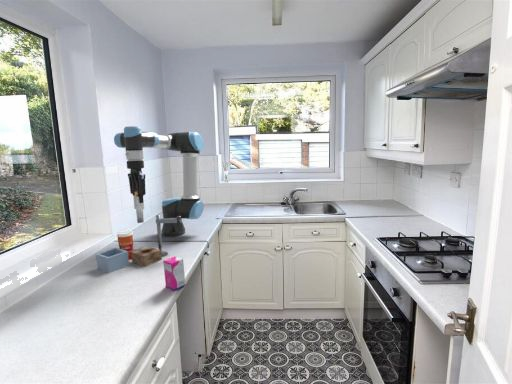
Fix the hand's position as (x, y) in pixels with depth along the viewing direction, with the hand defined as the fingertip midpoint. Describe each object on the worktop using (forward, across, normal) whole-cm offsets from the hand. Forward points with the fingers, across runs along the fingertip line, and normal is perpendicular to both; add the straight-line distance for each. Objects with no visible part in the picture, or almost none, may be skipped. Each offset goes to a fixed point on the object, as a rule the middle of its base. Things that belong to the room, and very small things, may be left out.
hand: (139, 208), depth 143 cm
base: (+27, -1, +10) cm, 28 cm away
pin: (+7, 0, 0) cm, 7 cm away
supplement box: (+27, +35, -4) cm, 45 cm away
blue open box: (+27, -5, -13) cm, 30 cm away
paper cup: (+27, -10, -4) cm, 29 cm away
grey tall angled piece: (+25, +3, +14) cm, 29 cm away
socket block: (+27, 0, +2) cm, 27 cm away
